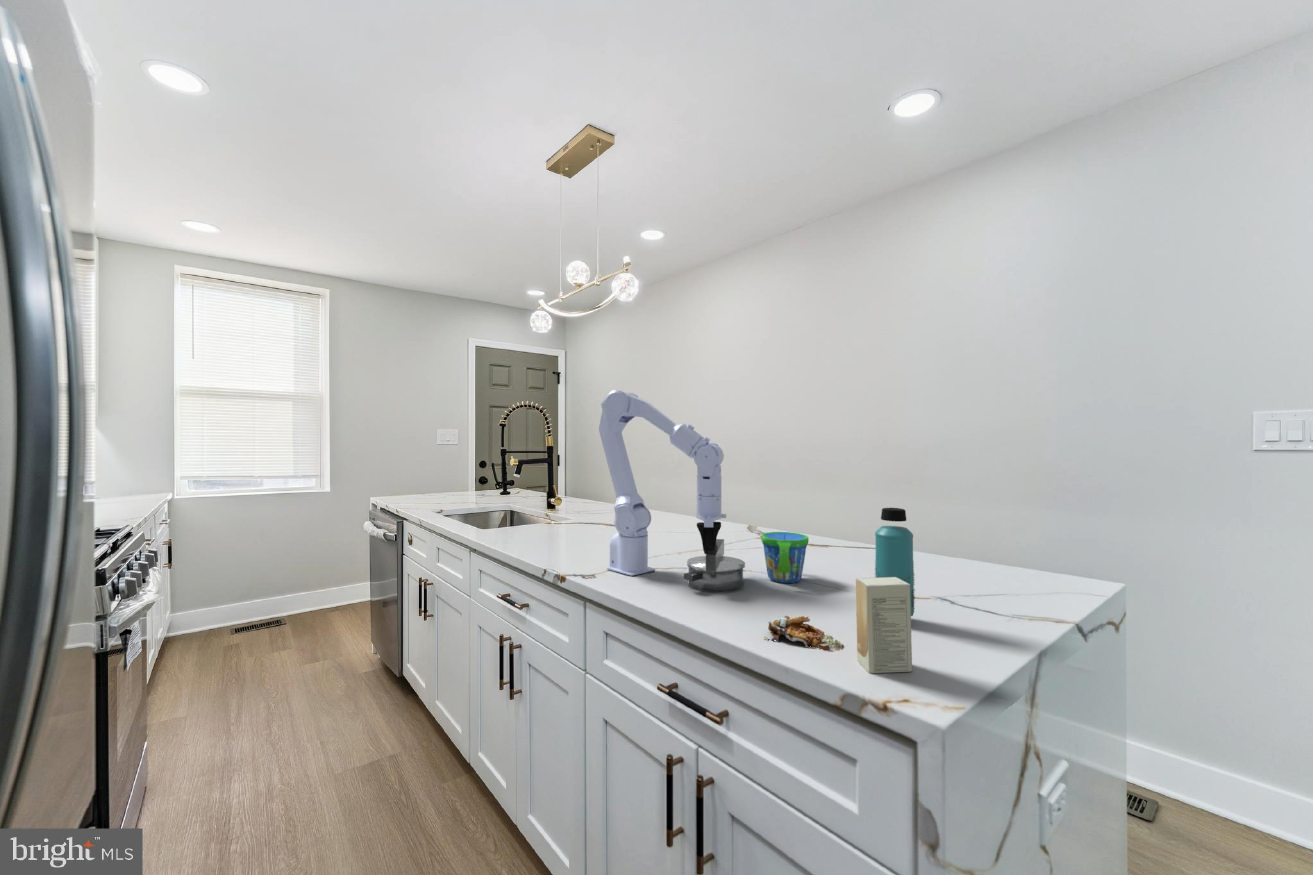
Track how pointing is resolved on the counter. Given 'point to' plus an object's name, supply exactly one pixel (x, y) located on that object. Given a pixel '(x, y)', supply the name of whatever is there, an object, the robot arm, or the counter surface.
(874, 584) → the skincare box
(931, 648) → the counter surface
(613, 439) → the robot arm
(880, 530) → the beverage bottle
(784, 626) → the brown lumpy piece
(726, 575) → the pot
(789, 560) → the snack cup
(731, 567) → the lid
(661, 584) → the counter surface
